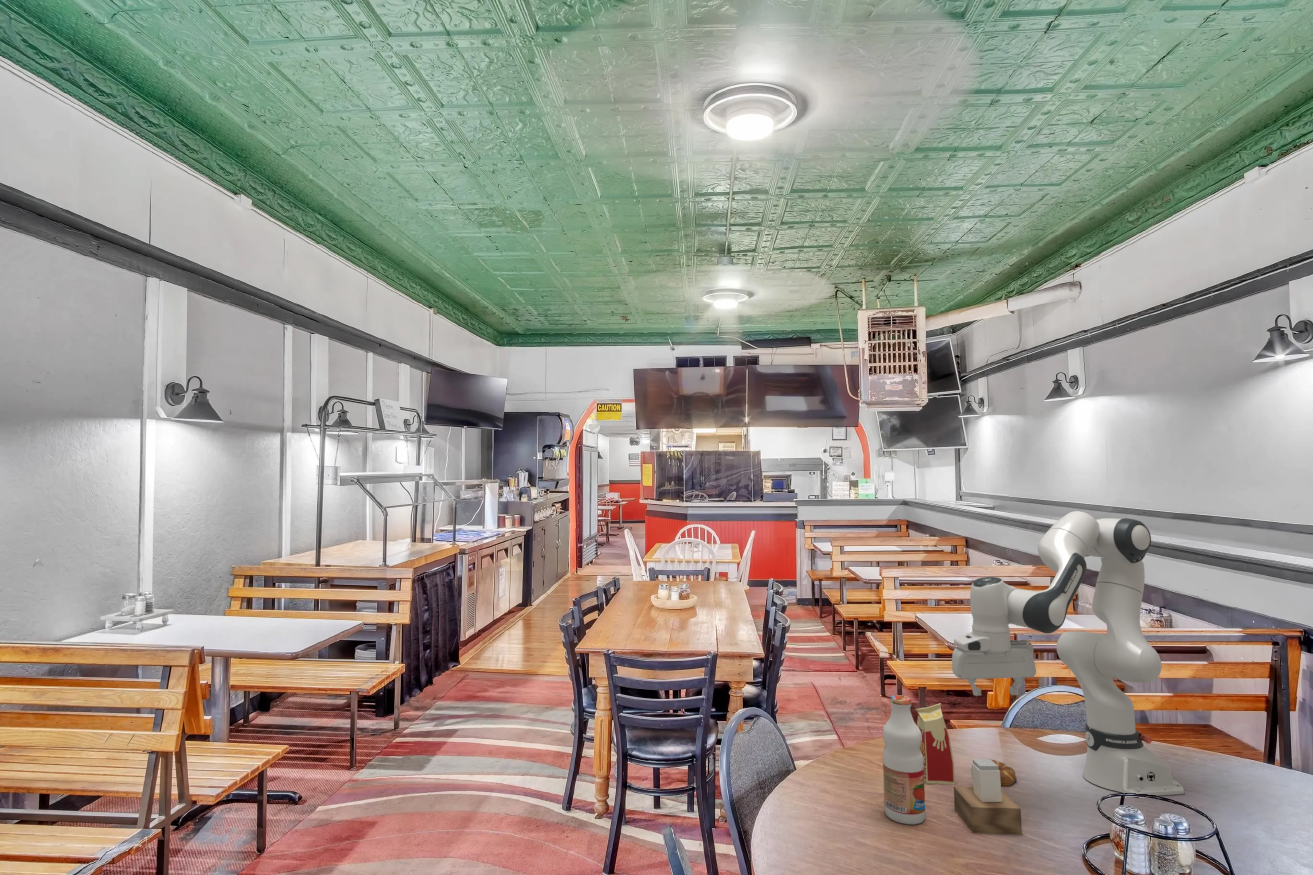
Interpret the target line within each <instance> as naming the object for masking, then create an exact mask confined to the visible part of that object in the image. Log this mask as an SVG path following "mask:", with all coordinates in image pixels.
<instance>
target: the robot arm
mask: <svg viewBox="0 0 1313 875" xmlns="http://www.w3.org/2000/svg"><path fill="white" fill-rule="evenodd" d="M1151 543H1152V536H1151V532H1150V530H1149V528H1148V527H1147V526H1146V524H1144V522H1142V521H1140V520H1138V519H1134V518H1128V517H1125V518H1113V517H1106V518H1105V517H1101V518H1095V517H1094V516H1093V515H1091V514H1089V513H1087V512H1084V511H1079V510H1075V511H1070V512H1068V513H1067V514H1065V515H1064V516H1062V517H1061V518H1060V519H1058V520H1057V521H1056V522H1055V523H1054V524H1052V526H1051V527H1050V528H1049V529H1048V530H1047V531H1046V532H1045V533H1044V535H1043V536H1042V537H1041V539H1040V540H1039V542H1038V545H1037V552H1038V555H1039V558H1040V559H1041V561H1042V562H1043V564H1044V565H1045V566H1046V567H1048V568H1049V569H1050V570H1051V571H1053V572H1055V573H1056V574H1055V576H1054V578H1053V579H1052V581H1051V583H1050V585H1049V587H1048V588H1047V589H1044V590H1037V591H1035V590H1029V589H1023V588H1018V587H1014V586H1012V585H1009V584H1007V583H1005V582H1004V581H1003V579H1002V578H1001V577H997V576H986V577H984V576H983V577H979V578H976V579H975V580H973V581H972V583H971V586H970V594H969V595H970V596H969V598H970V599H969V604H970V613H971V616H972V619H973V620H972V624H971V625H972V626H971V629H972V630H971V631H970V632H967V633H965V634H961V635H959V636H957V637H954V639H953V644H954V646H956V647H955V648H954V649H953V651H952V654H951V656H952V657H951V670H952V674H953V675H954V676H955V677H957V679H960V680H967V682H968V683H969V685H970V686H971V688H972V693H973V696H975V697H979V696H980V697H981V696H982V689H981V688H979V686H976V684H975V683H977V679H979V680H981V679H983V680H984V679H1012V680H1013V681H1014V682H1013V684H1012V686H1009V688H1008V689H1009V694H1010V695H1011V696H1019V694H1020V692H1019V689H1020V687H1021V685H1022V684H1023V678H1034V677H1035V676H1036V674H1037V667H1036V662H1035V658H1034V646H1033V644H1032V643H1031V642H1030V641H1028V640H1027V639H1026V640H1025V639H1020V640H1017V639H1011V631H1010V626H1009V625H1010V624H1011V625H1015V626H1016V627H1023V628H1027V629H1031V630H1034V631H1037V632H1040V633H1043V634H1052V633H1055V632H1056V631H1058V630H1059V629H1060V628H1061V627H1062V626H1063V625H1064V623H1065V620H1066V618H1067V613H1068V609H1069V608H1070V606H1071V603H1072V601H1073V599H1074V598H1075V596H1076V594H1077V592H1078V591H1079V590H1078V589H1079V588H1080V586H1081V584H1082V582H1083V580H1084V578H1085V576H1086V572H1087V566H1088V565H1087V562H1086V560H1085V558H1086V557H1097V558H1100V560H1101V561H1100V563H1101V567H1100V568H1099V572H1098V575H1097V579H1096V583H1095V588H1094V592H1093V597H1092V603H1091V609H1092V612H1093V613H1094V615H1095V616H1096V618H1098V619H1099V620H1100V621H1101V622H1103V623H1104V624H1105V625H1106V628H1107V629H1106V631H1107V632H1106V635H1104V634H1099V633H1093V632H1090V631H1089V632H1088V631H1084V630H1082V631H1080V630H1079V631H1078V630H1076V631H1065V632H1063V633H1062V634H1061V635H1060V636H1059V638H1058V640H1057V641H1056V653H1057V655H1058V658H1059V660H1060V662H1062V663H1063V664H1064V665H1066V667H1068V669H1069V670H1070V671H1071V672H1072V674H1073V675H1074V676H1075V678H1076V681H1077V682H1078V685H1079V686H1080V688H1081V691H1082V694H1083V699H1084V706H1085V715H1086V716H1085V717H1086V723H1085V724H1084V727H1085V728H1084V730H1085V741H1086V742H1085V743H1086V746H1087V748H1086V759H1085V766H1084V770H1083V774H1082V775H1083V778H1084V779H1085V780H1086V781H1088V782H1089V783H1091V784H1094V785H1095V786H1098V787H1100V788H1103V789H1107V790H1111V791H1114V792H1118V793H1119V792H1120V793H1123V794H1125V793H1136V794H1148V795H1156V796H1155V797H1158V796H1172V795H1173V796H1174V795H1184V794H1185V790H1184V787H1183V785H1181V784H1180V783H1179V782H1178V781H1177V780H1175V779H1174V778H1173V776H1172V773H1171V769H1170V767H1169V765H1168V764H1167V763H1166V762H1165V761H1164V760H1163V759H1162V758H1160V756H1158V755H1157V754H1155V753H1154V752H1153V751H1152V750H1150V749H1149V748H1148V747H1147V746H1145V745H1144V743H1146V744H1152V742H1153V738H1152V737H1151V736H1150V735H1148V734H1146V733H1141V732H1140V731H1137V730H1136V721H1135V720H1136V719H1135V718H1136V717H1135V716H1136V715H1135V706H1134V703H1133V701H1132V699H1131V698H1130V697H1129V696H1128V695H1127V693H1125V692H1123V691H1122V690H1121V689H1120V688H1119V687H1118V686H1117V684H1116V683H1115V681H1114V679H1115V680H1120V681H1124V682H1128V683H1141V684H1144V683H1145V684H1146V683H1147V684H1148V683H1149V684H1150V683H1153V682H1155V681H1156V680H1157V679H1158V678H1159V677H1160V675H1161V672H1162V666H1163V665H1162V664H1163V663H1162V660H1161V657H1160V655H1159V653H1158V652H1157V650H1156V649H1155V648H1153V646H1152V645H1150V643H1149V642H1148V640H1147V639H1146V638H1145V636H1144V634H1143V631H1142V628H1141V611H1142V610H1141V608H1142V603H1143V596H1144V589H1145V581H1146V580H1145V578H1146V577H1145V565H1144V562H1143V560H1144V558H1145V556H1146V555H1147V553H1148V552H1149V549H1150V547H1151ZM1143 742H1144V743H1143Z"/></svg>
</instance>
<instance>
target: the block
mask: <svg viewBox="0 0 1313 875" xmlns="http://www.w3.org/2000/svg"><path fill="white" fill-rule="evenodd" d="M1001 794H1002V802H982V801H981V800H980V799H979V798H978V797H977V796H976V795H975V794H974V787H973V786H957V785H953V799H954V800H953V803H954V812H955V813H956V812H957V813H958V814H957V813H956V814H957V815H958V817H959V818H960V817H961V818H960V819H961V820H962V822H963V823H964V822H965V823H964V824H965V825H966V827H967V828H968V829H969V830H970V832H971V833H972V834H994V835H995V834H996V835H997V834H999V835H1021V836H1022V835H1023V832H1022V831H1023V829H1022V826H1023V825H1022V810H1021V807H1020V806H1018V804H1017V803H1015V802H1014V801H1013V800H1012V798H1010V796H1009V795H1007V794H1006V793H1005V792H1004V791H1003V790H1002V789H1001Z"/></svg>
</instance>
